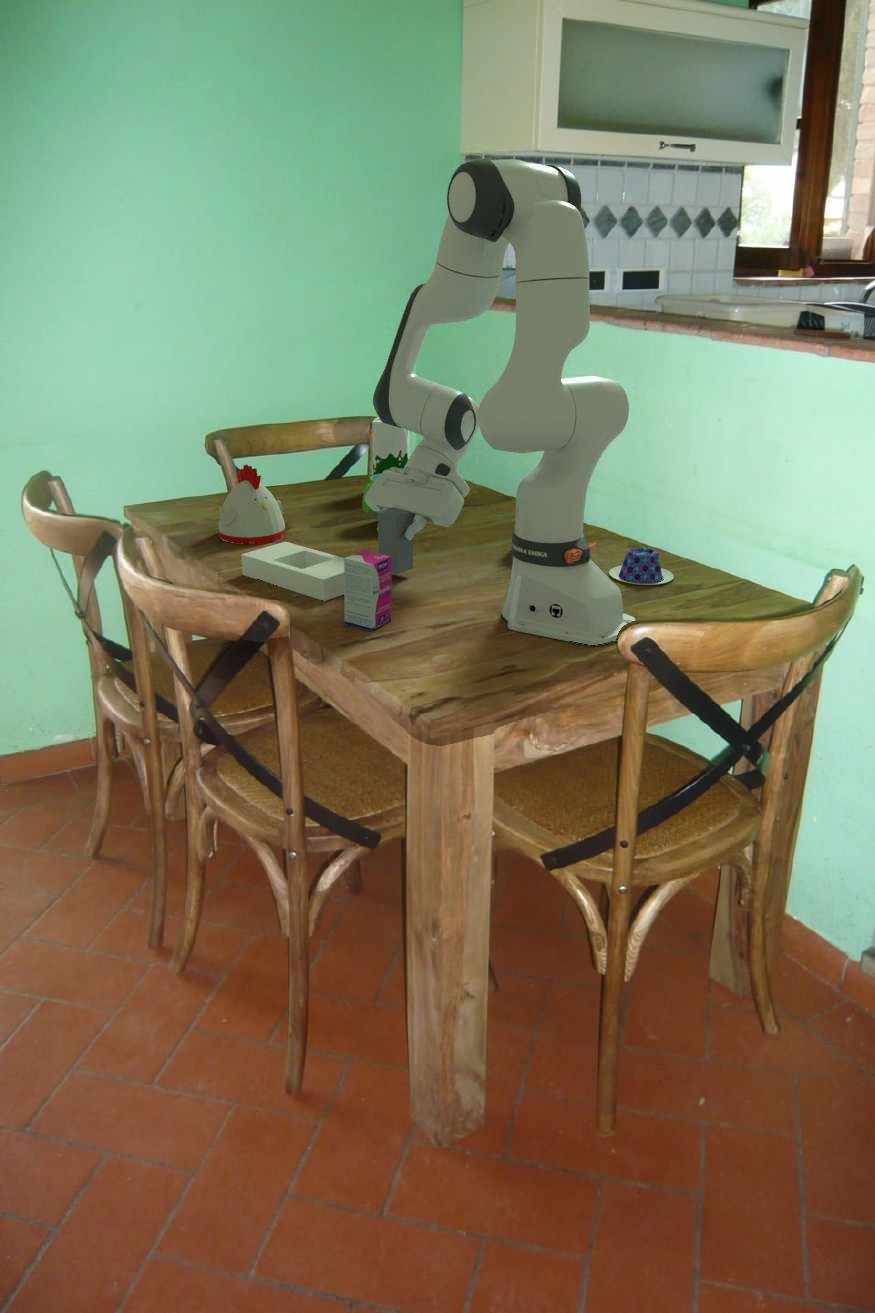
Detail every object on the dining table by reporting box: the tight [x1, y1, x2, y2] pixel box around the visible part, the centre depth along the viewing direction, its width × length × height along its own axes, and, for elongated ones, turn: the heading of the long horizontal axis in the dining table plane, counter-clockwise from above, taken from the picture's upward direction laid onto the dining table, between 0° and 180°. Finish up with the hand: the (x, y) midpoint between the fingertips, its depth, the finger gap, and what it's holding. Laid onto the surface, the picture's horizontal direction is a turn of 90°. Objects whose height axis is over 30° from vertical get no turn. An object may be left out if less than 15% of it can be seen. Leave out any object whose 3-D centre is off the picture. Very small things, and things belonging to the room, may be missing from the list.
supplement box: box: [343, 550, 393, 632], centre depth 162 cm, size 6×6×12 cm
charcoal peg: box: [377, 508, 414, 575], centre depth 183 cm, size 4×4×11 cm
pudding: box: [608, 547, 674, 586], centre depth 186 cm, size 12×12×5 cm
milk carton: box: [371, 416, 411, 476], centre depth 241 cm, size 9×9×20 cm
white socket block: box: [240, 541, 345, 602], centre depth 183 cm, size 22×11×4 cm, turn 50°
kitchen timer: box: [218, 464, 287, 545], centre depth 207 cm, size 14×14×15 cm
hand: (393, 535), depth 183 cm, fingers closed on charcoal peg, 4 cm apart
